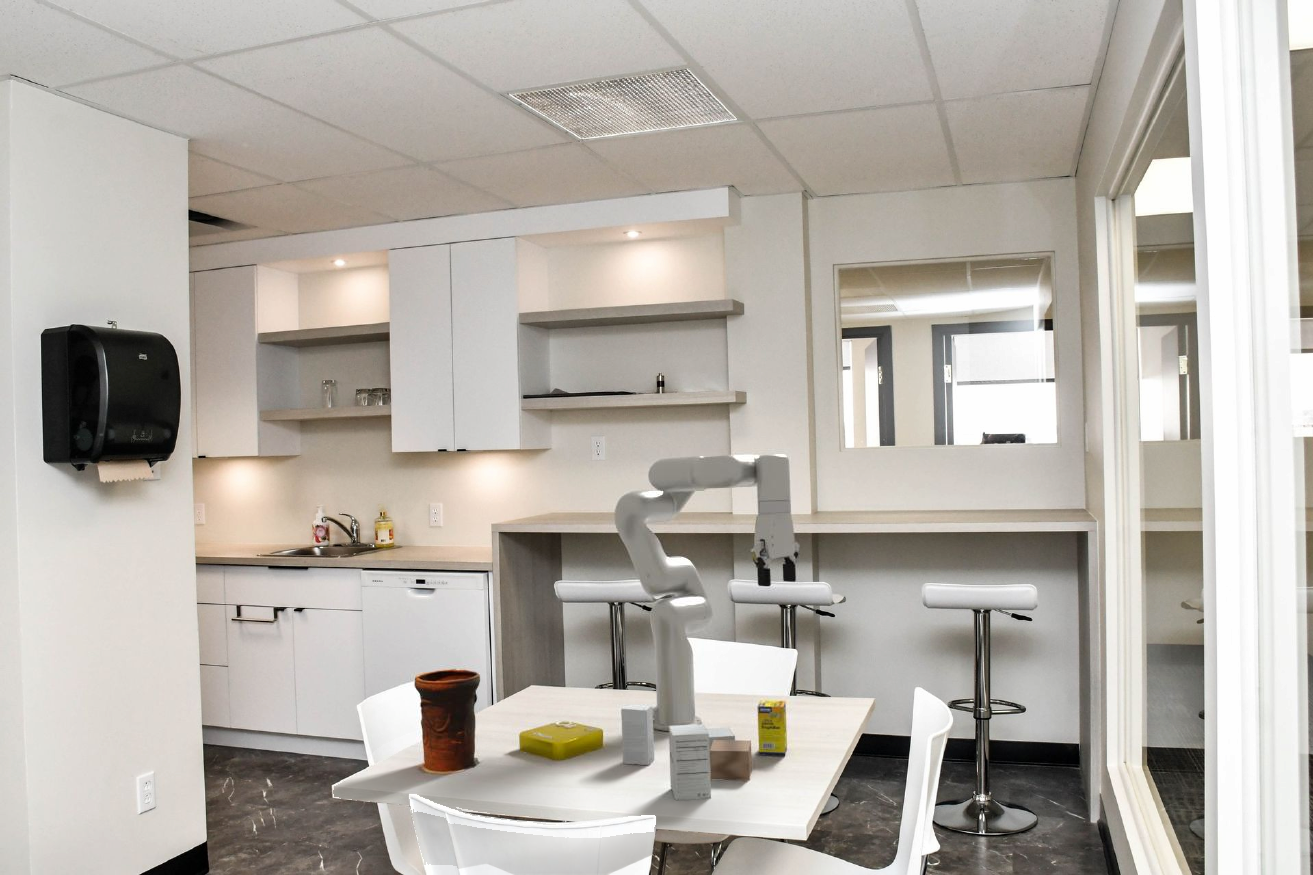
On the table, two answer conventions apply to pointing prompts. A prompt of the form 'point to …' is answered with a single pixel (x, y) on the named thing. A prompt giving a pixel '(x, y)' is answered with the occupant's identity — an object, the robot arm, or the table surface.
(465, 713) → the vessel
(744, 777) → the walnut block
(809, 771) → the table surface
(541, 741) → the element tile
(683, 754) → the supplement box
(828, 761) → the table surface
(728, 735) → the grey block
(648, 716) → the skincare box
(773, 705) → the supplement box
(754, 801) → the table surface
